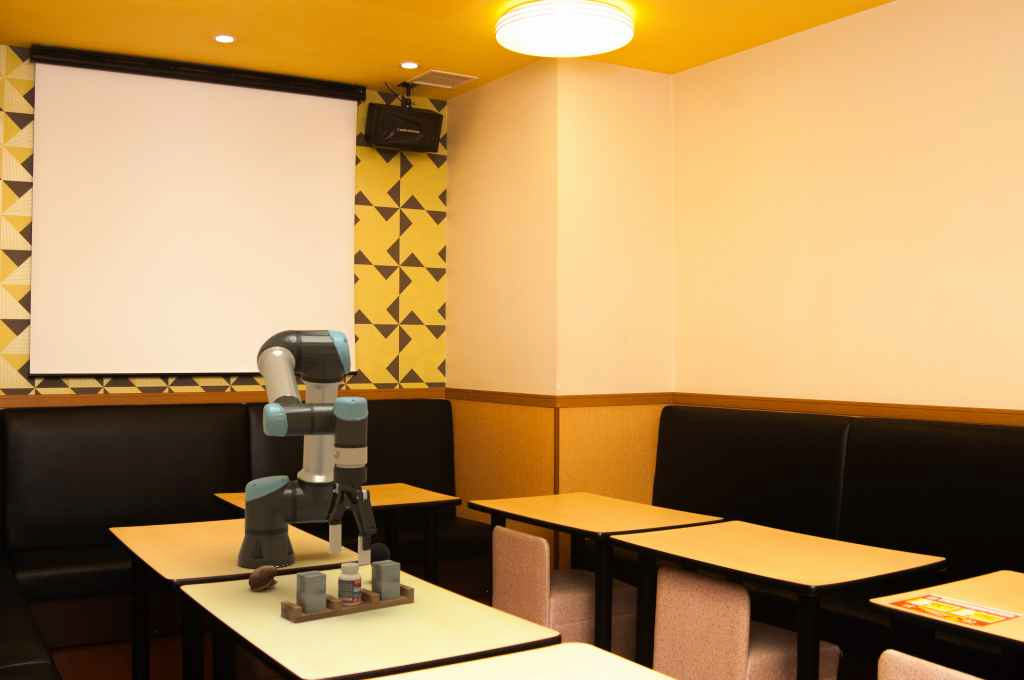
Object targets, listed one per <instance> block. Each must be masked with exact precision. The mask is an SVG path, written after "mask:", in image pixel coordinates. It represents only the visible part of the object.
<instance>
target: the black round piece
mask: <svg viewBox="0 0 1024 680" xmlns="http://www.w3.org/2000/svg"><path fill="white" fill-rule="evenodd" d="M390 557H391V552H390V549H389V547H388V546H387V545H386V544H385V543H382V542H377V543H372V544H371V550H370V564H369V565H370V566H371V568H372V562H379V561H386V560H390Z"/></svg>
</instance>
